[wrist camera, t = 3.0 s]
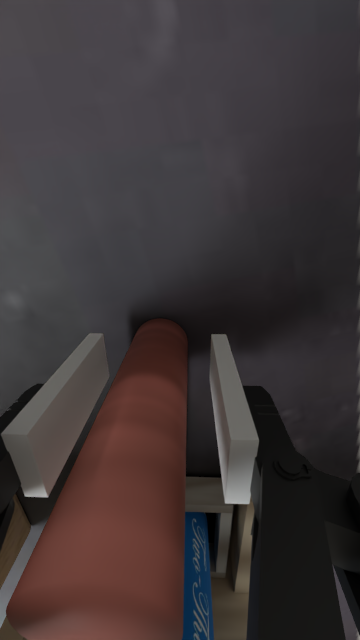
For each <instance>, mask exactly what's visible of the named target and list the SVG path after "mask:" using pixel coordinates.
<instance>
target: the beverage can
mask: <svg viewBox="0 0 360 640" xmlns="http://www.w3.org/2000/svg"><path fill="white" fill-rule="evenodd" d="M181 640H214V629H213V612H212V595H211V577H210V560H209V543H208V526H207V517H206V514H205V512H185V548H184V608H183V637H182V639H181Z"/></svg>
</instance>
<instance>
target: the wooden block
mask: <svg viewBox="0 0 360 640" xmlns="http://www.w3.org/2000/svg"><path fill="white" fill-rule="evenodd" d="M13 500H14V502H15V508H14V513H13V516H12V519H11V522H10V525H9V528H8V531H7V534H6V537H5V540H4V543H3V546H2V549H1V551H0V589H1V587H2V585H3V583H4V581H5V579H6V577H7V575H8V573H9V571H10V569H11V568H12V566H13V564H14V562H15V560H16V558H17V556H18V554H19V552H20V550H21V548H22V546H23V544H24V542H25V540H26V538H27V536H28V534H29V532H30V528H31V525H30V523H29V521H28V519H27V517H26V515H25V512H24V510H23V508H22V506H21V504H20V502H19V500H18V498H17V496H16V494H14V496H13Z"/></svg>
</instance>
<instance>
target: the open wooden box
mask: <svg viewBox="0 0 360 640" xmlns="http://www.w3.org/2000/svg"><path fill="white" fill-rule="evenodd" d="M254 511H255V510H254V506H253V501H252V497H251V496H250V503H249V504H234V509H233V518H232V526H231V535H230V543H229V548H228V557H227V565H226V574H225V578H219V577H211V595H212V612H213V629H214V640H246V637H247V619H248V601H249V583H250V565H251V547H252V535H251V529H252V523H253V517H254ZM0 640H28V639H26V638H24V637H23V636H22V635H20V634H19V633H18V632H17V631H16V630H15V629H14V628H13V627H12V626H11V624H10V623H9V621H8V619H7V616H6V618H5V620H4V622H3V624H2V626H1V628H0Z"/></svg>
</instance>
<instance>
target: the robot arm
mask: <svg viewBox="0 0 360 640" xmlns="http://www.w3.org/2000/svg"><path fill="white" fill-rule="evenodd" d="M109 377H110V376H109V369H108V362H107V355H106V348H105V341H104V334H103V333H89V334H88V335H87V337H86V338H85V339H84V340H83V341H82V342H81V343H80V344H79V346H78V347H77V348H76V349H75V350H74V351H73V352H72V354H71V355H70V356H69V357H68V358H67V359H66V360H65V362H64V363H63V364H62V365H61V366H60V367H59V368H58V370H57V371H56V372H55V373H54V374H53V375H52V376H51V377H50V379H49V380H48V381H47V382H46V383H45V384H36V385H34V386H33V387H31V388H30V389H28V390H27V391H25V392H24V393H23V394H22V395H21V396H20V397H19V398H18V399H17V400H16V403H14V404H13V405H12V406H11V407H10V408H9V410H8V411H6V412H5V413H4V414H3V415H2V416H1V417H0V551H1V549H2V546H3V543H4V540H5V537H6V534H7V531H8V528H9V525H10V522H11V519H12V516H13V513H14V508H15V502H14V500H13V496H14V494H15V493H16V491H17V490H18V488H19V487H20V485H21V487H22V490H23V492H24V495H25V497H48V496H49V494H50V492H51V490H52V489H53V487H54V485H55V483H56V481H57V479H58V477H59V475H60V473H61V471H62V469H63V467H64V465H65V463H66V461H67V459H68V457H69V455H70V453H71V451H72V449H73V447H74V445H75V443H76V441H77V440H78V438H79V436H80V434H81V432H82V430H83V428H84V426H85V424H86V422H87V420H88V418H89V416H90V414H91V412H92V410H93V408H94V406H95V404H96V402H97V400H98V398H99V396H100V394H101V392H102V390H103V389H104V387H105V385H106V383H107V381H108V379H109ZM210 386H211V394H212V402H213V410H214V418H215V427H216V435H217V443H218V451H219V459H220V467H221V476H222V484H223V492H224V500H225V503H228V504H249V503H250V496H251V497H252V501H253V506H254V510H255V511H254V517H253V523H252V529H251V535H252V547H251V565H250V583H249V601H248V619H247V637H246V640H346V639H345V633H344V628H343V622H342V617H341V611H340V606H339V600H338V595H337V589H336V583H335V578H334V572H333V567H332V564H333V566H334V568H335V571H336V574H337V576H338V579H339V582H340V584H341V587H342V590H343V592H344V595H345V598H346V600H347V603H348V606H349V608H350V611H351V613H352V616H353V619H354V621H355V624H356V627H357V629H358V632H359V635H360V473H358V474H356V475H355V476H354V477H353V478H352V481H351V482H350V481H347V480H344V479H341V478H338V477H334V476H331V475H328V474H325V473H323V472H320V471H318V470H316V469H315V468H313V466H312V465H311V464H310V463H309V462H308V460H307V459H306V458H305V457H303V456H302V455H301V454H299V453H298V452H296V450H295V448H294V446H293V444H292V442H291V439H290V437H289V435H288V433H287V431H286V428H285V426H284V424H283V422H282V420H281V418H280V415H279V414H278V411H277V409H276V407H275V404H274V402H273V400H272V398H271V396H270V394H269V393H268V392H267V391H266V390H265V389H264V388H263V387H261V386H242V384H241V381H240V377H239V374H238V371H237V368H236V365H235V361H234V358H233V355H232V352H231V349H230V345H229V342H228V339H227V336H226V334H211V355H210Z"/></svg>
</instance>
